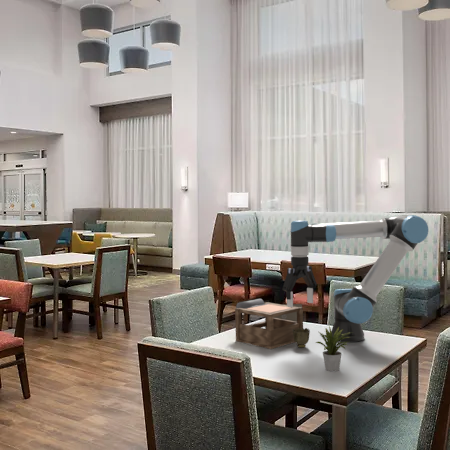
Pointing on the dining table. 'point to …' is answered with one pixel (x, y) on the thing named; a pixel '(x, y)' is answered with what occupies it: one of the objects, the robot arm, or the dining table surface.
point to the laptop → (290, 315)
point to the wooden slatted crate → (268, 327)
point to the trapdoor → (260, 306)
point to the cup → (301, 337)
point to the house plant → (332, 349)
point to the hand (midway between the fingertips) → (300, 304)
